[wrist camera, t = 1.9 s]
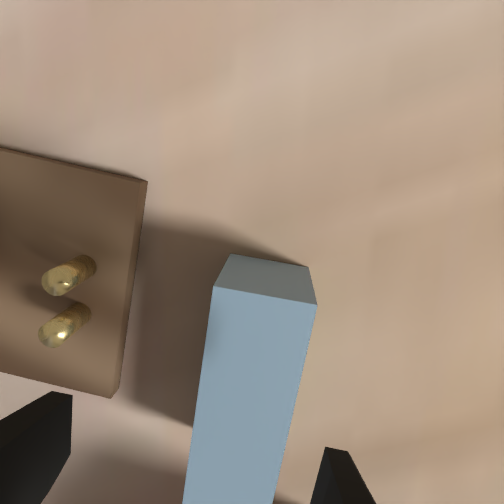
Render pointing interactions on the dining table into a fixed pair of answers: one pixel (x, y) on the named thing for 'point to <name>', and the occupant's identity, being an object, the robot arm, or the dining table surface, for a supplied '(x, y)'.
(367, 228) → the dining table surface
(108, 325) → the peg stand
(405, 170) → the dining table surface
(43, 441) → the robot arm
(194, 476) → the light blue rectangular block
